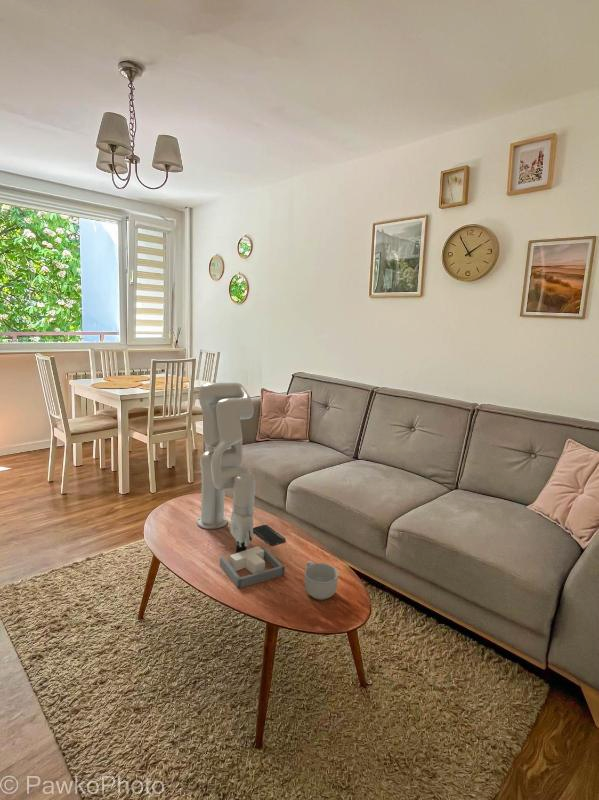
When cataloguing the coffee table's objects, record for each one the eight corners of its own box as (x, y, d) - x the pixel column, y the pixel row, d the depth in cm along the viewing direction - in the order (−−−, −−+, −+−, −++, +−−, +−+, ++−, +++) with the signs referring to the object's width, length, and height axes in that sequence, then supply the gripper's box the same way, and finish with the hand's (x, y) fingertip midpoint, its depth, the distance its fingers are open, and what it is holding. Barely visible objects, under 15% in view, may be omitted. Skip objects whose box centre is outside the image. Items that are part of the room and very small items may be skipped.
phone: (265, 524, 187) (286, 539, 176) (265, 526, 188) (286, 541, 176) (249, 528, 183) (270, 544, 171) (249, 531, 183) (269, 547, 171)
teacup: (341, 602, 140) (343, 579, 138) (308, 606, 137) (310, 582, 135) (326, 577, 153) (328, 556, 151) (296, 580, 150) (297, 558, 148)
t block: (229, 566, 156) (229, 555, 155) (257, 555, 163) (257, 545, 163) (245, 579, 148) (245, 568, 148) (273, 568, 156) (274, 557, 155)
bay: (219, 565, 156) (220, 557, 155) (263, 554, 165) (264, 546, 164) (238, 588, 143) (238, 580, 143) (284, 575, 152) (284, 567, 152)
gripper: (225, 501, 162) (223, 547, 165) (242, 518, 150) (240, 567, 153) (243, 498, 166) (241, 543, 169) (262, 514, 154) (259, 562, 157)
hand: (240, 555), depth 161 cm, fingers closed
